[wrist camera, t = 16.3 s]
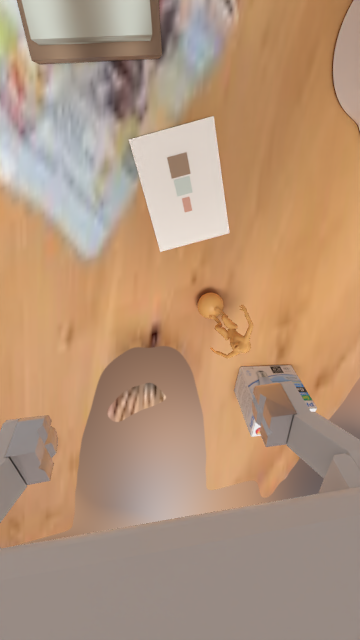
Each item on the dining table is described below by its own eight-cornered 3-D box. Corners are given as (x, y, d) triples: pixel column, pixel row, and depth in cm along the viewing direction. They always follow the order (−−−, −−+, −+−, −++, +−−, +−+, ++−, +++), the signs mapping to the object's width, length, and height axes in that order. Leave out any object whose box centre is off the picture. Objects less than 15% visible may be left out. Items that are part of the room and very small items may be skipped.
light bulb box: (291, 363, 60) (319, 407, 51) (282, 388, 64) (307, 433, 55) (238, 366, 58) (257, 412, 50) (232, 391, 62) (250, 438, 53)
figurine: (210, 272, 46) (232, 316, 37) (242, 287, 49) (271, 332, 39) (184, 315, 50) (198, 365, 40) (215, 326, 52) (235, 377, 43)
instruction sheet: (213, 115, 35) (213, 115, 35) (229, 232, 43) (229, 233, 43) (128, 139, 35) (128, 139, 35) (160, 251, 43) (160, 252, 43)
